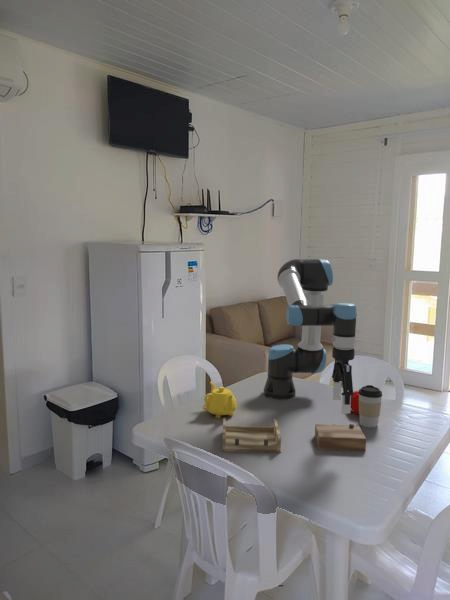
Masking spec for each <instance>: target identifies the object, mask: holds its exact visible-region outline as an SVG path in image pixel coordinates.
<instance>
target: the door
mask: <svg viewBox="0 0 450 600" xmlns="http://www.w3.org/2000/svg"><path fill="white" fill-rule="evenodd" d="M354 424H355V423H349V424H348V425H343V424H320V423H317V424H315V423H314V438H315V441H316V443H317V448H318V450H321V451H323V450H324V451H325V450H326V451H341V452H342V451H343V452H344V451H346V452H347V451H349V452H350V451H351V452H366V447H367V438H366V436H365V434H364V432H363V430H362V429H361V427H360V425H354Z"/></svg>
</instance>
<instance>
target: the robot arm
mask: <svg viewBox="0 0 450 600" xmlns="http://www.w3.org/2000/svg"><path fill="white" fill-rule="evenodd" d="M277 282H278V285H279V287H281V288H282V289H283V293H284V296H285V300H286V302H287V304H288V306H287V308H286V311H285V312H286V314H285V318H286V324H287V325H289V326H296V327H302V328H301V341H300V342H298V344H297V347H294V346H293V345H292V344H286V343H285V344H283V343H282V344H276V345H273V346H271V347H270V348H269V349H268V352H267V378H266V381H265V385H264V387H263V395H264V396H265V397H268V398H270V399H276V400H289V399H293V398H294V397H296V390H297V389H296V386H295V384H294V380H293V374H319V373H322V372H323V371H324V370H325V368H326V364H327V350H326V349H325V348H324V346H323V344H322V343H321V338H322V337H321V336H322V335H321V334H322V326H323V327H330V326H331V327H333V332H332V336H333V337H331V341H332V346H333V347H332V349H331V350H332V352H331V353H332V354H331V355H332V356H331V357H332V358H333V359H334V365H333V368H332V369H333V370H332V375H331V378H332V380H333V385H332V386H333V387H332V400H336V401H338V400H339V401H340V400H341V401H342V402H341V413H342V414H351V408H350V407H351V395H353V392H354V387H353V384H354V383H353V375H352V374H353V373H352V368H353V367H352V365H350V364H349V363H350V362H349V361H352V360H354V359H355V352H356V350H355V347H356V332H357V331H356V330H357V329H356V326H357V315H358V314H357V313H358V312H357V305H355V303H350V302H337V303H335V304H334V303H333V304H329V305H324V296H325V293H326V292H327V291H328V289H329V287H330V286H332V285H333V282H334V272H333V267H332V264H331V263H330V261H329V260H327V259H322V258H321V259H320V258H313V259H312V258H309V259H308V258H305V259H302V258H301V259H299V258H298V259H297V258H295V259H290V260H288V261H287V262H285V263H283V265H282V266H281V267H280V268H279V270H278V272H277ZM341 395H342V396H341Z"/></svg>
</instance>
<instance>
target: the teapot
mask: <svg viewBox="0 0 450 600" xmlns="http://www.w3.org/2000/svg"><path fill="white" fill-rule="evenodd" d="M210 385H211V390H210V393H206V394H205V395H204V398H203V400H204V405H203V406H202V409H203V411H208V412H209V413H210V414H212V415H215V418H216V417H217V418H216V419H221V418H222V416H228V417H232V416H234V414H233V413H234V412H235V411H236V410H237V408H238V404H237V399H236V397H235V396H234V394H233V392H232V391H231V390H230V389H229V388H225V386H219V387H217V388H216V385H215V382H213V381H211V380H210ZM220 417H221V418H220Z"/></svg>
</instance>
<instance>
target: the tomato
mask: <svg viewBox="0 0 450 600" xmlns="http://www.w3.org/2000/svg"><path fill="white" fill-rule="evenodd" d="M358 392H359V390H355V391H353V395H351V407H350V411H352V412H353V413H354V414H356V415H358V416H359V393H358Z"/></svg>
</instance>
